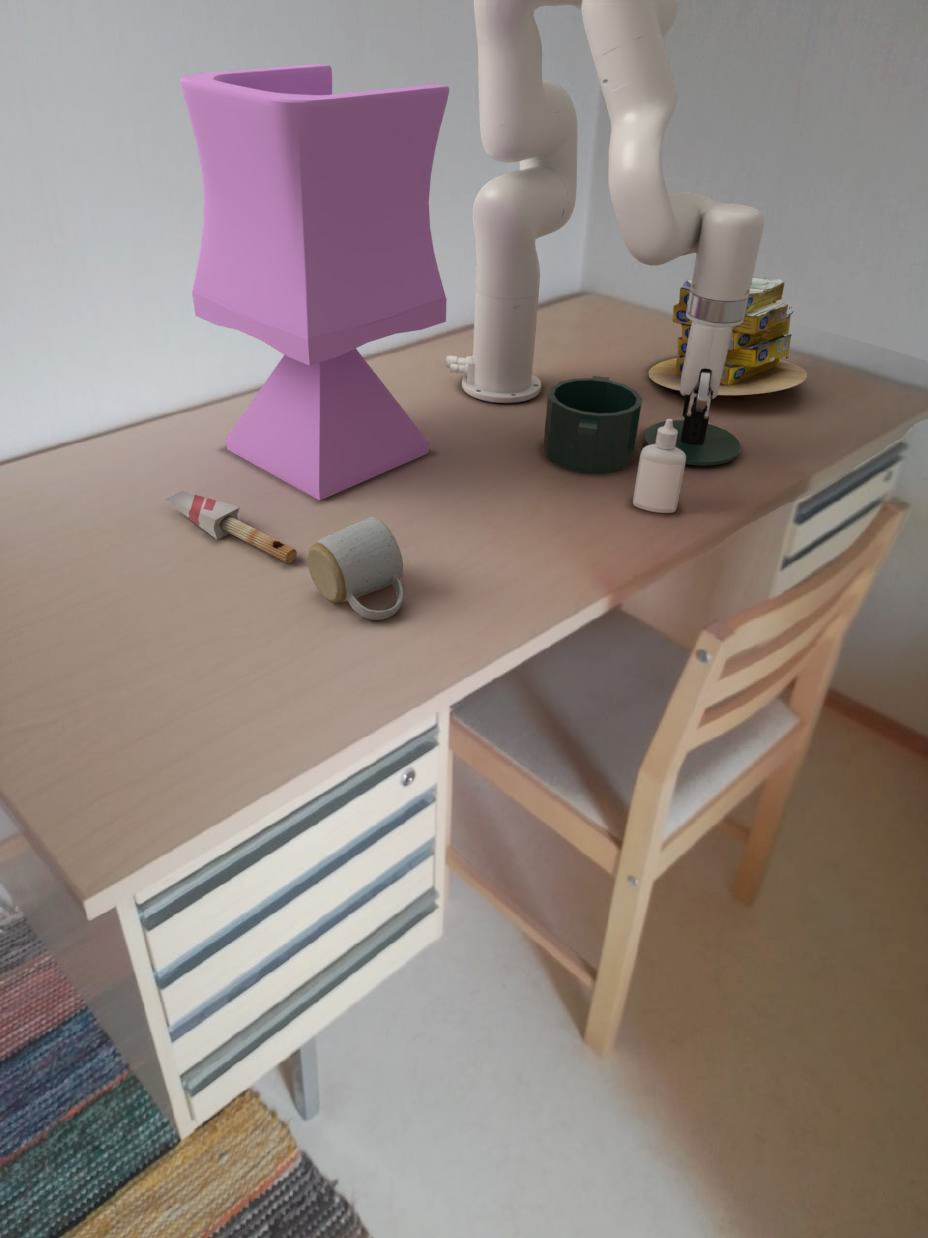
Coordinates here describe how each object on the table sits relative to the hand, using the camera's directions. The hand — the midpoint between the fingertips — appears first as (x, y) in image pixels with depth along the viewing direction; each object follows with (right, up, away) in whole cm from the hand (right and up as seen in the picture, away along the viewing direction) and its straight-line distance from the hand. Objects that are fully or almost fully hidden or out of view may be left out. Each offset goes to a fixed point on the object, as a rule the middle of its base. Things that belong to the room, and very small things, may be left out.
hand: (692, 429), depth 135 cm
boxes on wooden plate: (+10, +12, +22) cm, 27 cm away
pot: (-15, -4, -1) cm, 15 cm away
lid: (0, -2, +1) cm, 2 cm away
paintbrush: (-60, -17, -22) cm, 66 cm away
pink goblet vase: (-51, -4, -4) cm, 52 cm away
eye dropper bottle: (-8, -13, -13) cm, 20 cm away
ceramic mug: (-43, -25, -31) cm, 59 cm away
